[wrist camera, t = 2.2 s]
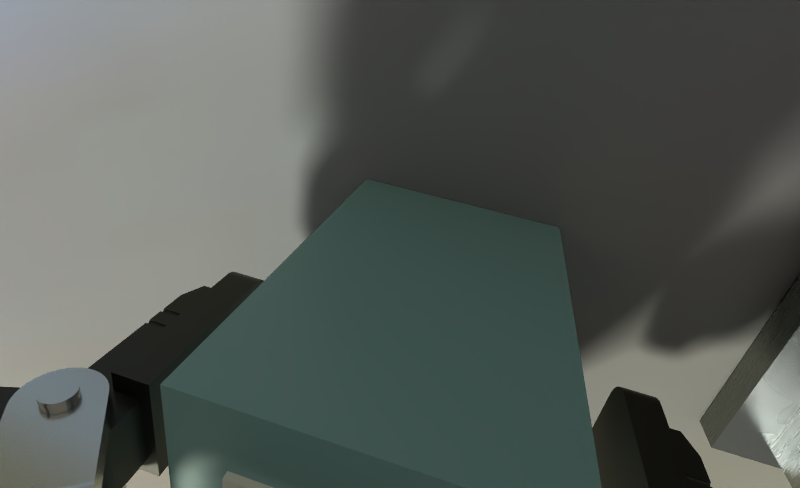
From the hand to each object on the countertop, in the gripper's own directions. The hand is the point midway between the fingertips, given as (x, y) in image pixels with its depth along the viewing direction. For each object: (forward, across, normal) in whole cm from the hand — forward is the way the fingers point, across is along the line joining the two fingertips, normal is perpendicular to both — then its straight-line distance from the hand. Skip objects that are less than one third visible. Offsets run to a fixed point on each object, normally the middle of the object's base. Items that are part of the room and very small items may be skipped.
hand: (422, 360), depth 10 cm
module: (+2, 0, 0) cm, 2 cm away
